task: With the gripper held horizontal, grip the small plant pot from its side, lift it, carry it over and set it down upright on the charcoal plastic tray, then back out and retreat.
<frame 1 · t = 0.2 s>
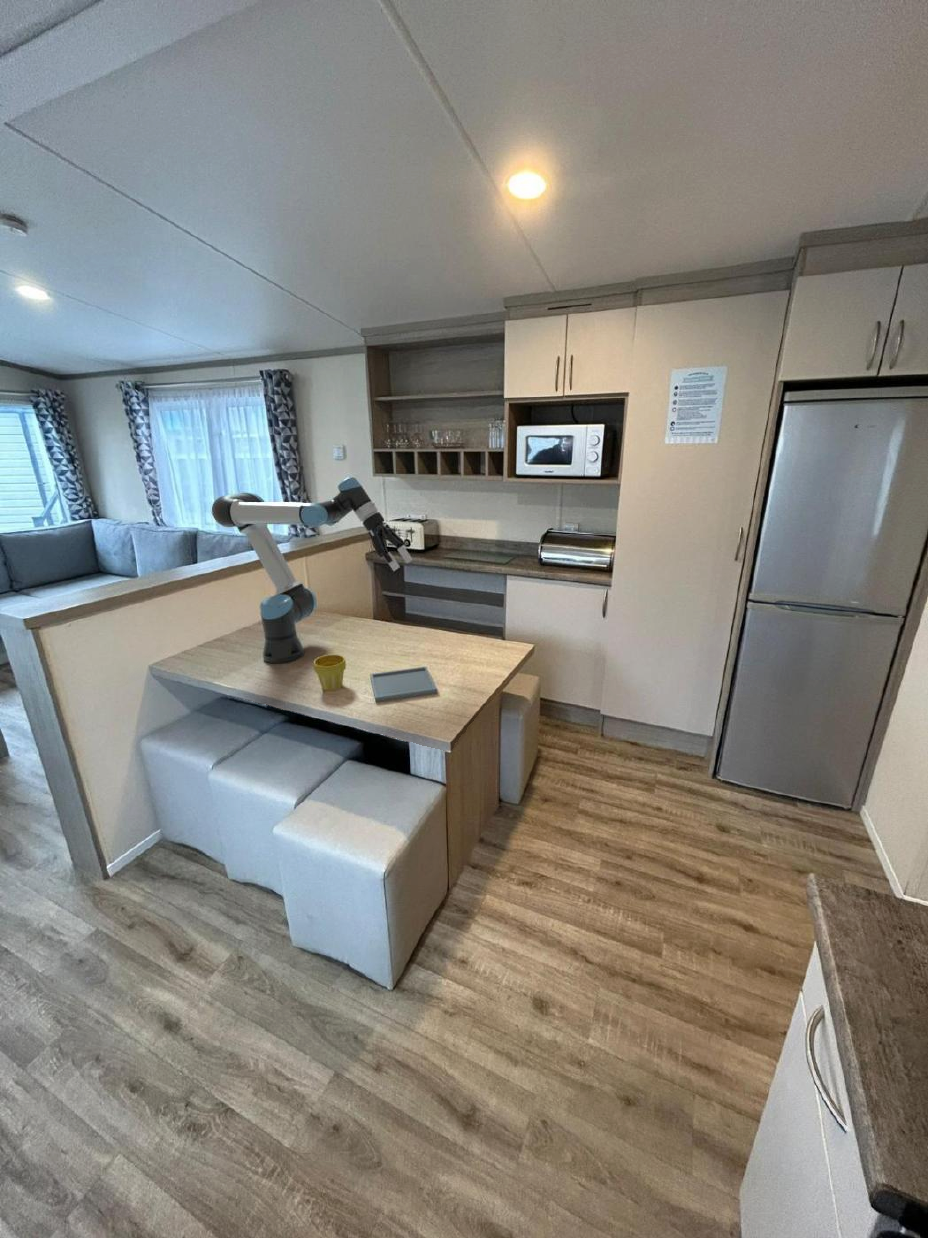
hand: (403, 565, 180), 35 cm above the table, tool tilted 35°, fingers open, 13 cm apart
charcoal tray: (402, 685, 164), on the table
plant pot: (332, 686, 165), on the table
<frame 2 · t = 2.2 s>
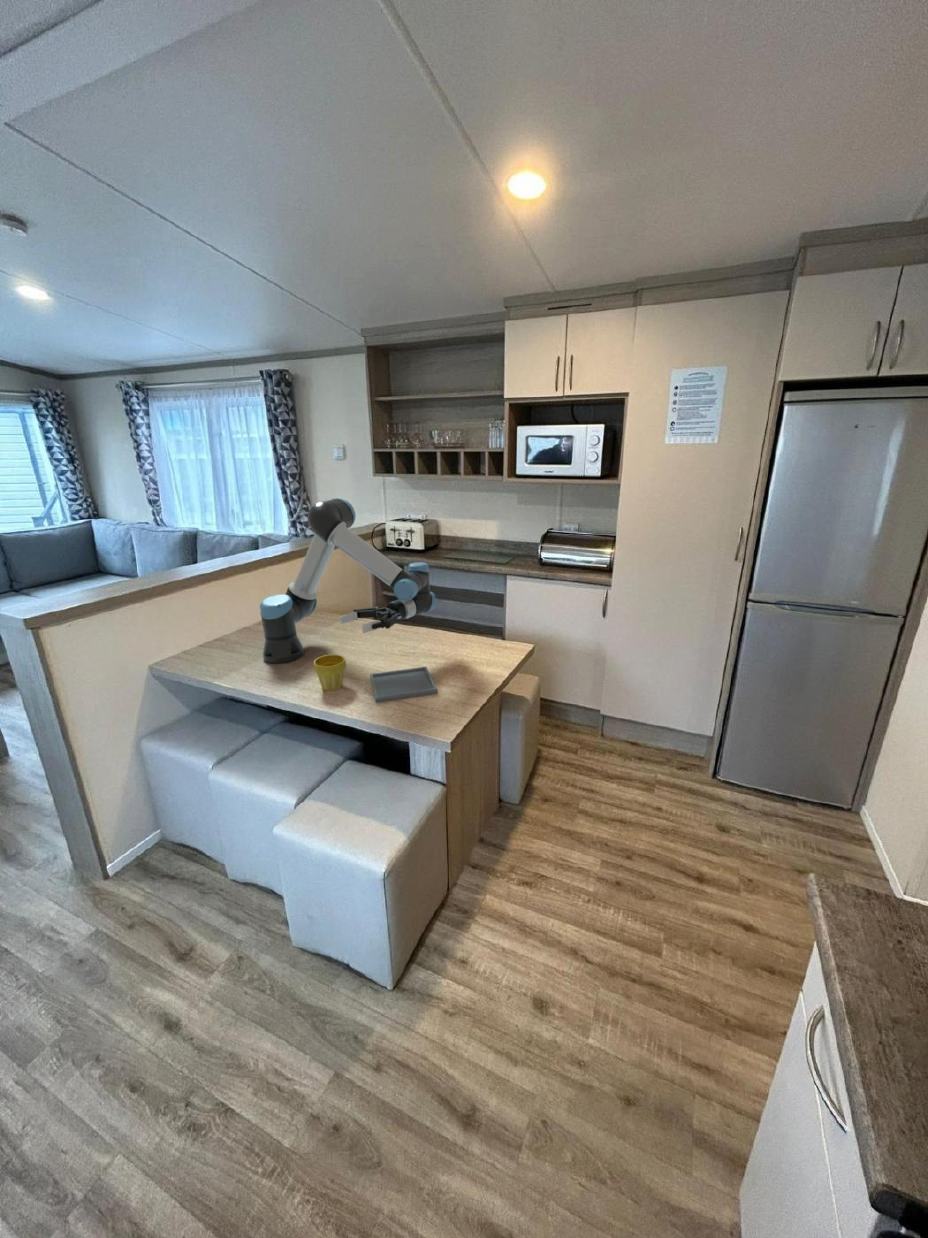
hand: (351, 624, 165), 20 cm above the table, tool horizontal, fingers open, 13 cm apart
nothing on the table moved.
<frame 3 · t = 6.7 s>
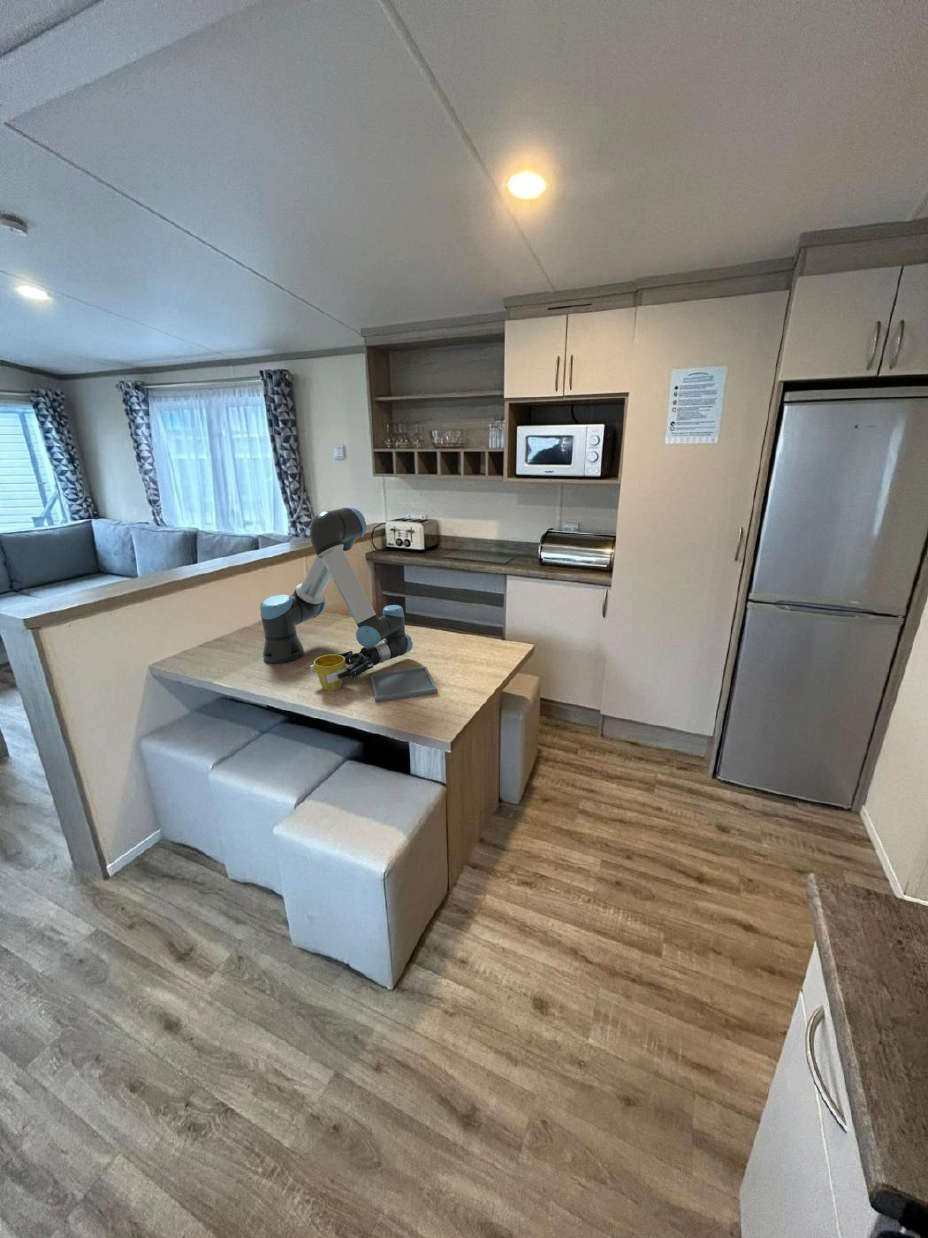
hand: (319, 674, 160), 6 cm above the table, tool horizontal, fingers closed on plant pot, 10 cm apart
plant pot: (332, 686, 165), on the table, touching gripper
when the fingers open (8 cm above the table, at t = 12.6 s): plant pot stays where it is, resting on charcoal tray.
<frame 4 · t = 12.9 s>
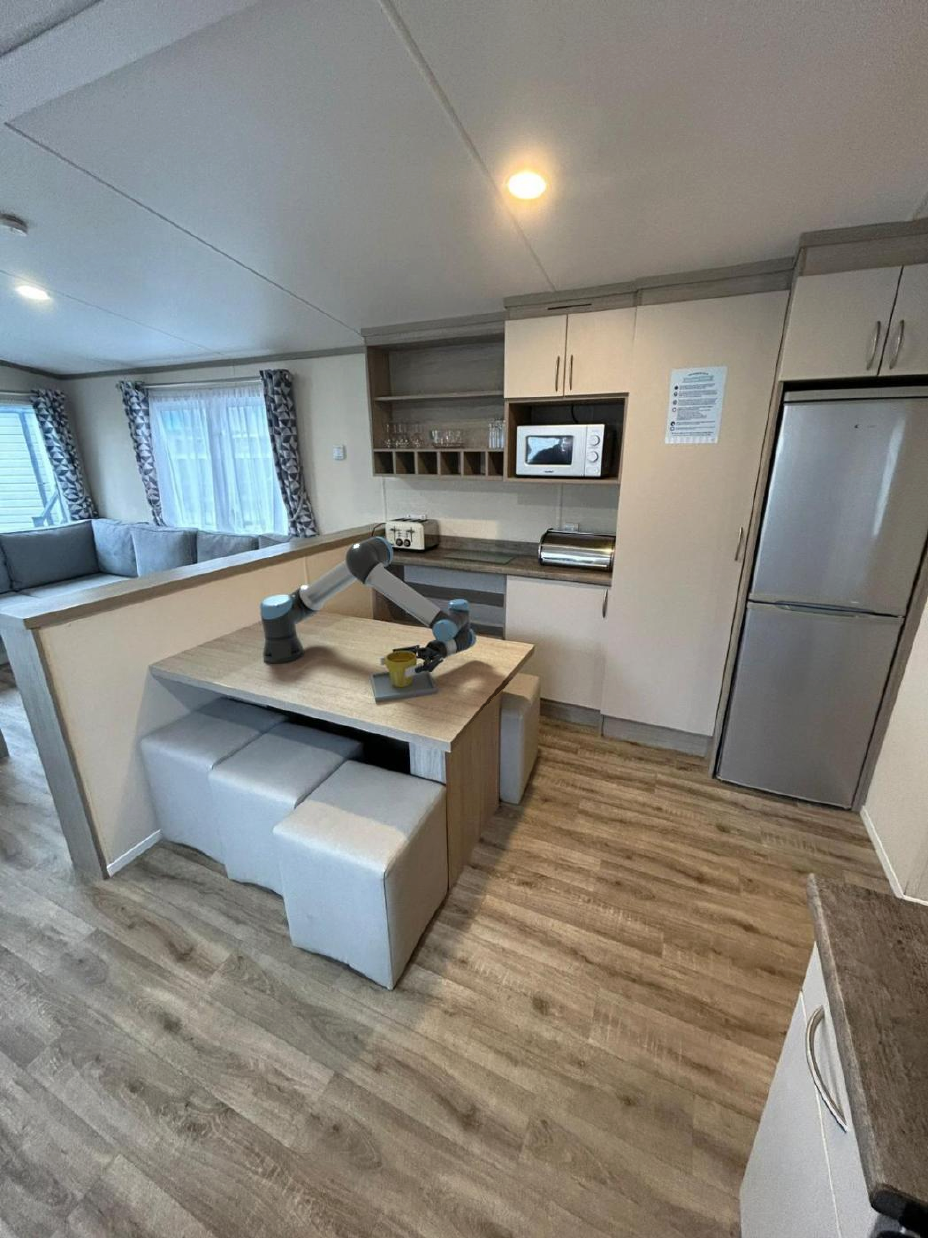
hand: (393, 667, 159), 8 cm above the table, tool horizontal, fingers open, 13 cm apart
plant pot: (402, 683, 164), point 1 cm above the table, touching charcoal tray
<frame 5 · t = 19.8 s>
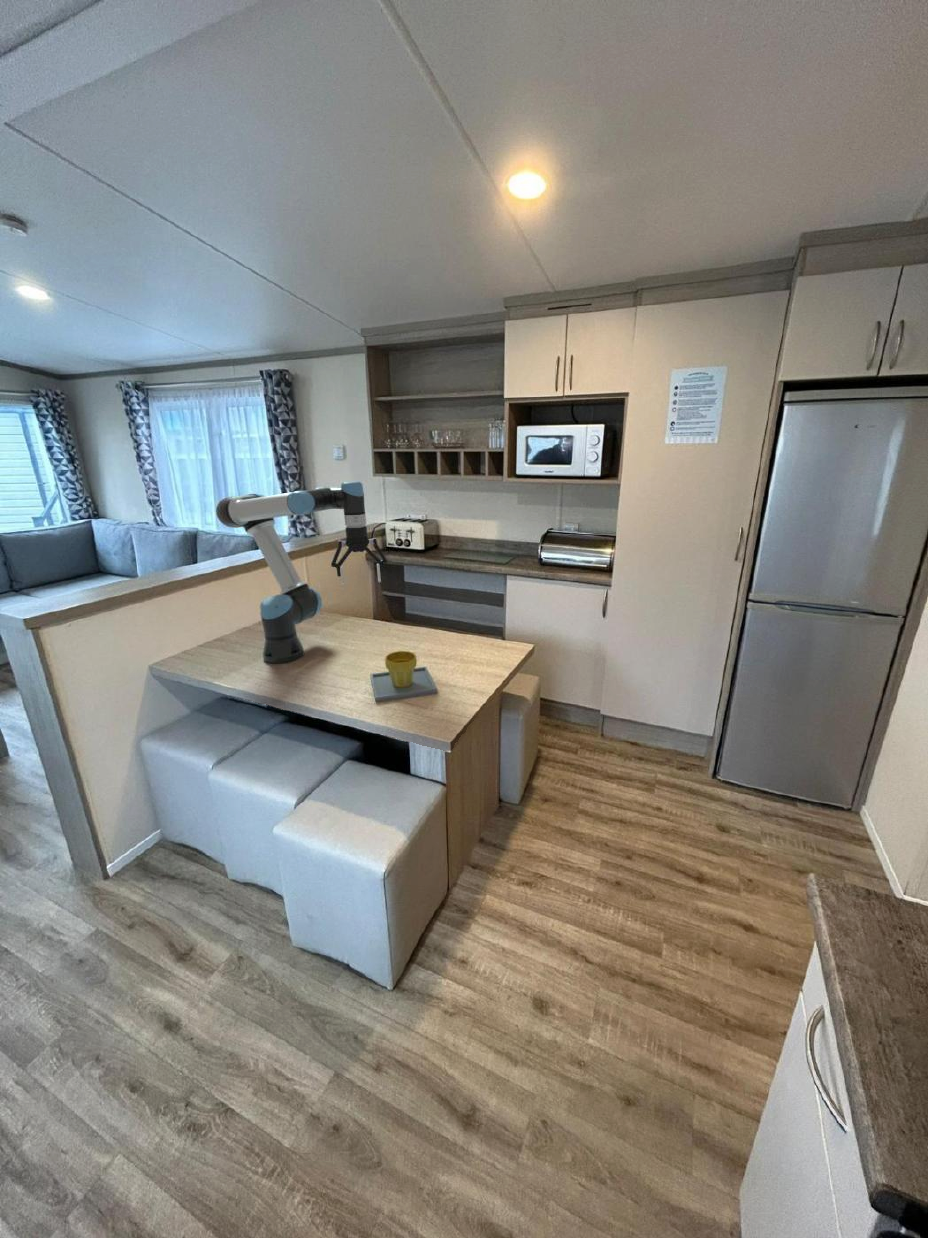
hand: (361, 583, 181), 29 cm above the table, tool pointing down, fingers open, 13 cm apart
nothing on the table moved.
at the end: plant pot inside the target area on the charcoal tray (0.1 cm from its centre), point 0.8 cm above the charcoal tray's base; plant pot tilted 0°; the gripper is holding nothing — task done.
